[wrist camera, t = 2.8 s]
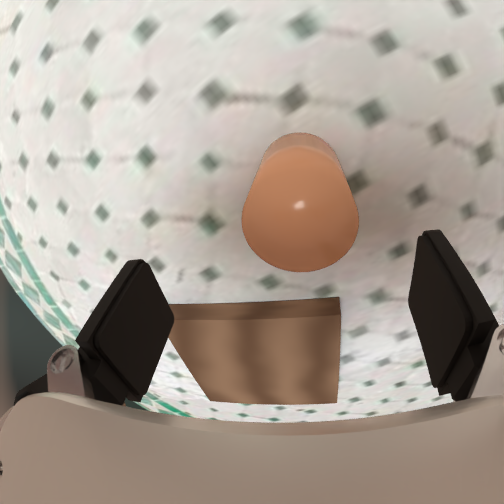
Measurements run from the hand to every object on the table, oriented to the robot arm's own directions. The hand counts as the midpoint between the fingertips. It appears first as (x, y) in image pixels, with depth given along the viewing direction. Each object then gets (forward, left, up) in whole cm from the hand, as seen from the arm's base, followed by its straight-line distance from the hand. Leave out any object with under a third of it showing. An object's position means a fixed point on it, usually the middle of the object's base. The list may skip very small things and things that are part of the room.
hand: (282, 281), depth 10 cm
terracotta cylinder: (-1, 0, -10) cm, 10 cm away
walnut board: (+5, +19, -10) cm, 22 cm away
